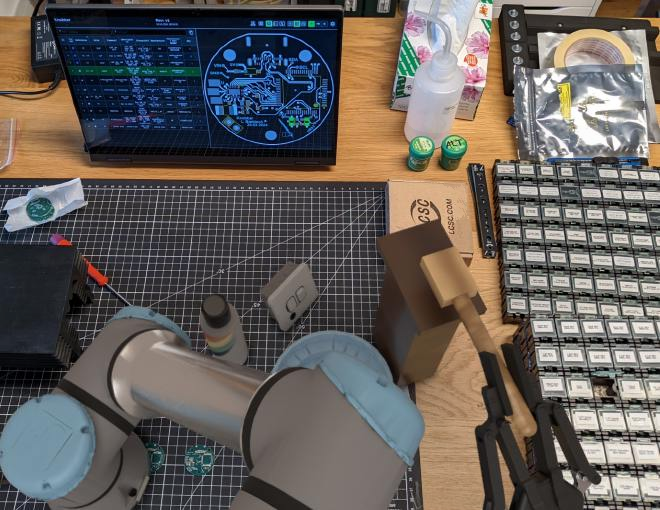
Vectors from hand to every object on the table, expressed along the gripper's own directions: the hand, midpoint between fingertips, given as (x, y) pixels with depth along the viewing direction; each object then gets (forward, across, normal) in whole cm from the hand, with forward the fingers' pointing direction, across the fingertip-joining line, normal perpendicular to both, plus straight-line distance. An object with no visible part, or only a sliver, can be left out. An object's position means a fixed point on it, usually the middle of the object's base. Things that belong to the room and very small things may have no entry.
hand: (497, 349), depth 65 cm
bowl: (-9, -14, -38) cm, 42 cm away
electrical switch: (+6, -15, -48) cm, 50 cm away
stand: (-7, 0, -40) cm, 41 cm away
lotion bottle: (+2, -27, -45) cm, 53 cm away
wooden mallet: (0, 0, -4) cm, 4 cm away
